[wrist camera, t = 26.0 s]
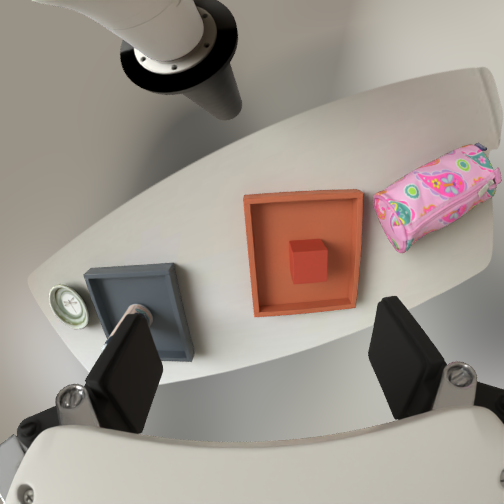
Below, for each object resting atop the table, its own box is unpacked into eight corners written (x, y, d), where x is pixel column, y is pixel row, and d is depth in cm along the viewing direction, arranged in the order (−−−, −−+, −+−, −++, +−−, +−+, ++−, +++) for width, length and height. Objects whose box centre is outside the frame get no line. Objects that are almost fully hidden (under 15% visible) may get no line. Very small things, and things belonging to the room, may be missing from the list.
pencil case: (461, 139, 32) (498, 143, 23) (473, 190, 35) (508, 202, 26) (360, 187, 36) (388, 199, 27) (379, 242, 39) (407, 266, 30)
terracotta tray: (244, 194, 36) (243, 198, 34) (356, 189, 36) (363, 192, 33) (254, 308, 43) (254, 317, 40) (350, 299, 42) (355, 307, 40)
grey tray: (90, 268, 41) (83, 274, 38) (173, 262, 40) (168, 270, 38) (120, 349, 47) (115, 357, 45) (194, 352, 47) (192, 361, 44)
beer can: (159, 320, 44) (135, 370, 32) (139, 328, 44) (113, 375, 33) (142, 298, 42) (113, 344, 31) (123, 307, 43) (92, 352, 32)
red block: (288, 240, 38) (292, 252, 34) (320, 238, 38) (328, 249, 34) (289, 270, 40) (293, 284, 36) (320, 267, 40) (327, 281, 35)
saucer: (77, 329, 46) (71, 336, 44) (48, 292, 43) (41, 297, 41) (102, 312, 44) (96, 320, 42) (70, 271, 41) (63, 276, 39)
